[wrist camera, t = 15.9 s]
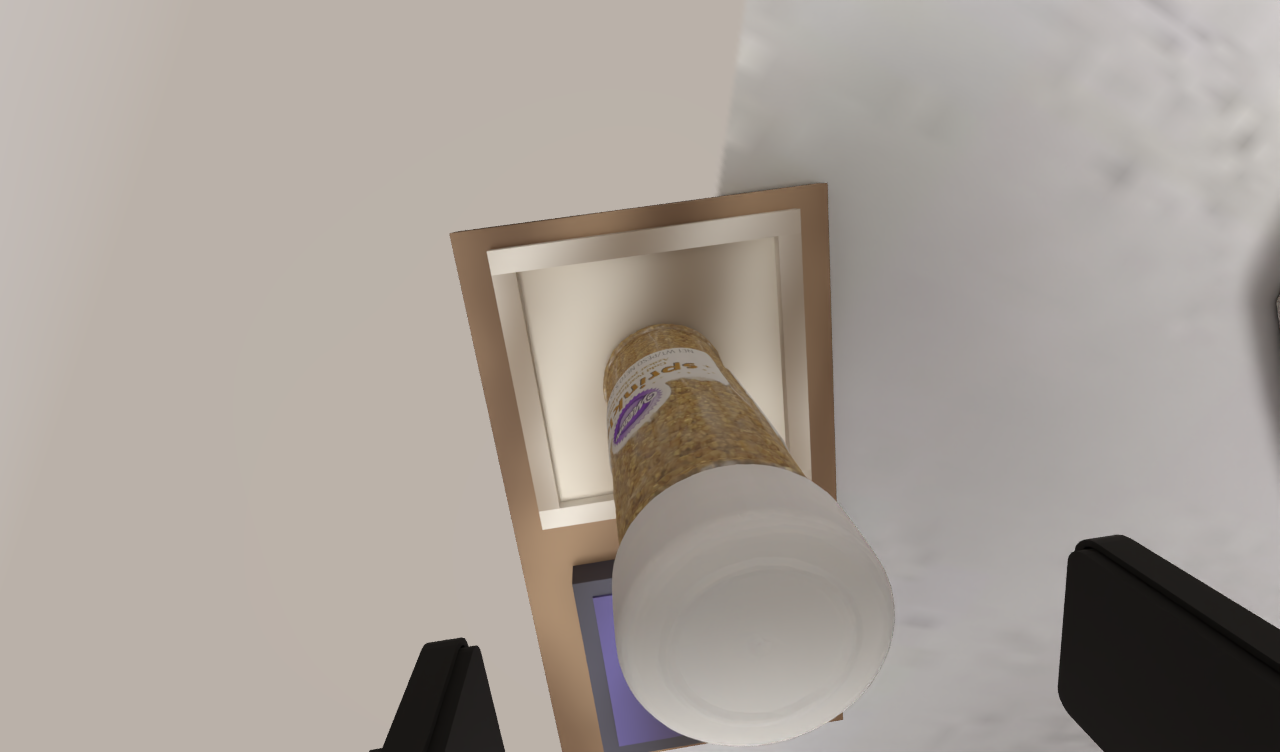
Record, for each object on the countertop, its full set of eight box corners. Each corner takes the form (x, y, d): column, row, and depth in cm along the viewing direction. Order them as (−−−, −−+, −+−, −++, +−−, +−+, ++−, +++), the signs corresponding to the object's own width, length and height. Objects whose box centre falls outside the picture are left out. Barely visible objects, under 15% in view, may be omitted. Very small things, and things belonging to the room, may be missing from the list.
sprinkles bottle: (634, 300, 21) (702, 471, 8) (746, 352, 22) (963, 581, 9) (581, 411, 22) (566, 715, 9) (689, 456, 23) (812, 791, 10)
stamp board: (816, 183, 21) (842, 182, 19) (834, 702, 29) (854, 744, 26) (455, 231, 21) (439, 236, 19) (566, 748, 28) (564, 795, 26)
